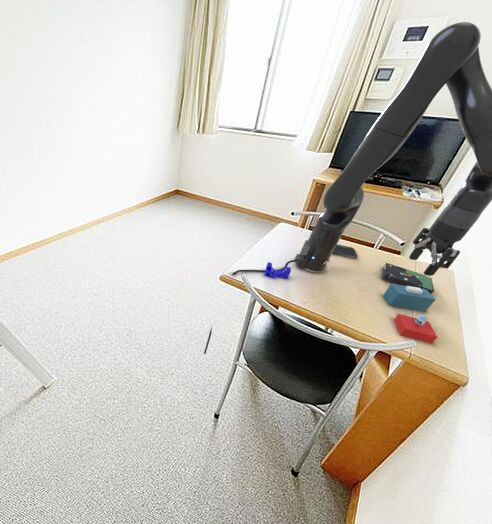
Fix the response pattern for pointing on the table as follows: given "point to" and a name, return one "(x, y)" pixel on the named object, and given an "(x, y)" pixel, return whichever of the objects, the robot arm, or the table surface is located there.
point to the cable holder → (276, 272)
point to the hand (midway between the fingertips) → (419, 266)
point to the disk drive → (407, 278)
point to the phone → (345, 251)
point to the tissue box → (408, 297)
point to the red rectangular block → (415, 328)
